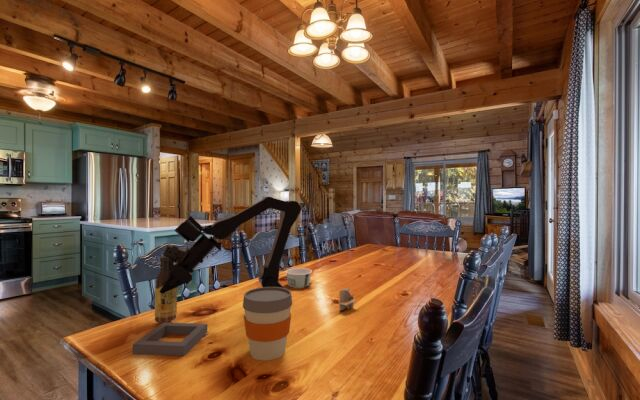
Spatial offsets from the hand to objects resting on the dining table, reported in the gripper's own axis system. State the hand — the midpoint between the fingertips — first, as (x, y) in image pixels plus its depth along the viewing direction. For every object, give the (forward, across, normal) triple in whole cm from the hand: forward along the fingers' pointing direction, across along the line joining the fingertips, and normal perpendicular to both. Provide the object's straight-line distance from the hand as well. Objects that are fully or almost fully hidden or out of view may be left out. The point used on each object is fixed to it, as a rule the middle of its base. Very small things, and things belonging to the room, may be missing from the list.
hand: (161, 289), depth 97 cm
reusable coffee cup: (-10, +30, +26) cm, 41 cm away
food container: (-30, -23, +46) cm, 60 cm away
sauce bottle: (+6, 0, +8) cm, 10 cm away
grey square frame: (+5, +15, +10) cm, 19 cm away
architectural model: (-33, +12, +51) cm, 62 cm away
